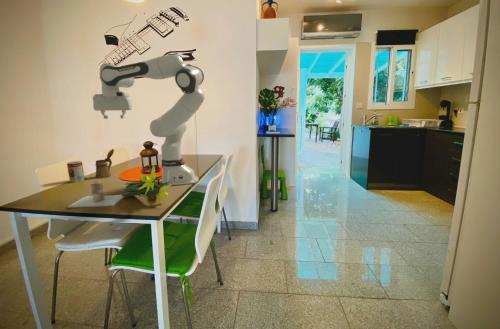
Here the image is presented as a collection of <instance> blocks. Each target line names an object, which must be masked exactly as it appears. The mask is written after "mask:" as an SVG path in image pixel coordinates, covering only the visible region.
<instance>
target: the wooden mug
mask: <svg viewBox="0 0 500 329" xmlns="http://www.w3.org/2000/svg"><path fill="white" fill-rule="evenodd" d="M114 152H115V149H114V148H112V149H111V150H109V151H108V153H107V155H106V158H104V159H98V160H96V161H95V178H96V179H105V178H109V177H111V172H110V170H111V167H112V164H113V162H112V159H111V157H112V156H113V155H114Z"/></svg>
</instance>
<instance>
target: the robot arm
mask: <svg viewBox="0 0 500 329" xmlns="http://www.w3.org/2000/svg"><path fill="white" fill-rule="evenodd" d="M173 77H174V80H175V83H176V85H177V87H178V88H179V89H180V90H181V92H182V93H183V95H182V96H181V97H180V98H179V99H178V101H176V102H175V104H174V105H173V106H172V107H171V108H170V109H169V110H167V111H166V112H165V113H163V114H162V115H161V116H159V117H157V118H154V120H152V121H151V122H150V124H149V130H150V133H151V134H152V135H153V136H154V137H159V138H165V139H164V142H163V144H162V145H161V148H160V150H161V169H162V175H161V176H162V177H161V184H164V183H166V182H169V181H170V182H169V183H168V184H166V186H167V185H171V184H172V185H171V186H177V185H187V184H188V185H189V184H190V185H191V184H196V183H197V182H199V179H200V178H199V176H196V175H195V171H194V169H193V168H191V167H190V166H188V165H187V164H185V159H184V158H182V155H181V153H182V152H181V143H182V139H183V136H184V133H185V132H186V130H187V122H188V121H190V119H191V117H193V116H194V115H195V113H196V112H197V111H198V110H199V109H200V107H201V106H202V104H203V103H204V100H205V94H204V92H203V91H202V90H201V88H200V86H201V85H202V83H203V82H204V79H205V75H204V72H203V70H202V69H201V68H199V67H198V66H195V65H192V64H190V63H187V64H185V61H184V60H183V58H182V57H181V56H180V55H178V54H167V55H165V54H164V55H161V56H157V57H153V58H151V59H147V60H142V61H140V62H136V63H130V64H125V65H121V66H120V65H119V66H117V65H116V64H114V63H111V62H108V63H106V62H105V63H103V64H101V65H100V67H99V79H100V82H101V93H99V94H97V93H95V94H94V95H93V96H92V102H93V105H92V108H93V110H94V111H95V112H96V111H99V112H100V113H101V115H102V116H103V119H105V120H107V119H109V116H108V115H106V111H109V112H110V111H121V113H122V114H120V116H119V117H120V119H125V115H126V114H127V113H126V112H127V111H131V110H132V109H133V107H132V106H133V105H132V101H131V98H130V95H129V93H127V92H124V91H120V88H125V89H127V88H132V87H133V85H134V83H135V78H147V79H152V80H164V79H165V80H166V79H169V78H173Z"/></svg>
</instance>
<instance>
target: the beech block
mask: <svg viewBox="0 0 500 329" xmlns="http://www.w3.org/2000/svg"><path fill="white" fill-rule="evenodd" d="M90 187H91V192H92V193H91V194H92V195H91V196H93V201H94V202H99V201H105V200H104V196H105V195H104V194H105V193H104V187H103V180H96V181H90Z"/></svg>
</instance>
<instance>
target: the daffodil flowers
mask: <svg viewBox="0 0 500 329" xmlns="http://www.w3.org/2000/svg"><path fill="white" fill-rule="evenodd" d="M138 176H139V178H141V179H139V181H134V182H132V181H131V182H126V183H124V185H125V188H123V191H124V192H125V193H124V194H121V195H122V196H123V197H124V196H125V197H129V196H141V197H143V198H144V199H145V200H146V202H148V198H147V197H146V196H148V197H149V198H152V199H154V197H153V196H152V194H154V195H156V196H157V197H156V203H158V202H159V200H160V198H163V199H169V192H165V191H166V190H167V189H170V187H171V186H173V185H172V184H171V185H167V184H168V183H169V182H170V181H169V182H166V183H164V184H163V183H161V184H157V182H156V181H157V180H158V179H161V178H162V175H159V176H157V172H156V167H155V164H153V165H152V168H151V172H150V175H147V174H138ZM125 197H124V198H125Z"/></svg>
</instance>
